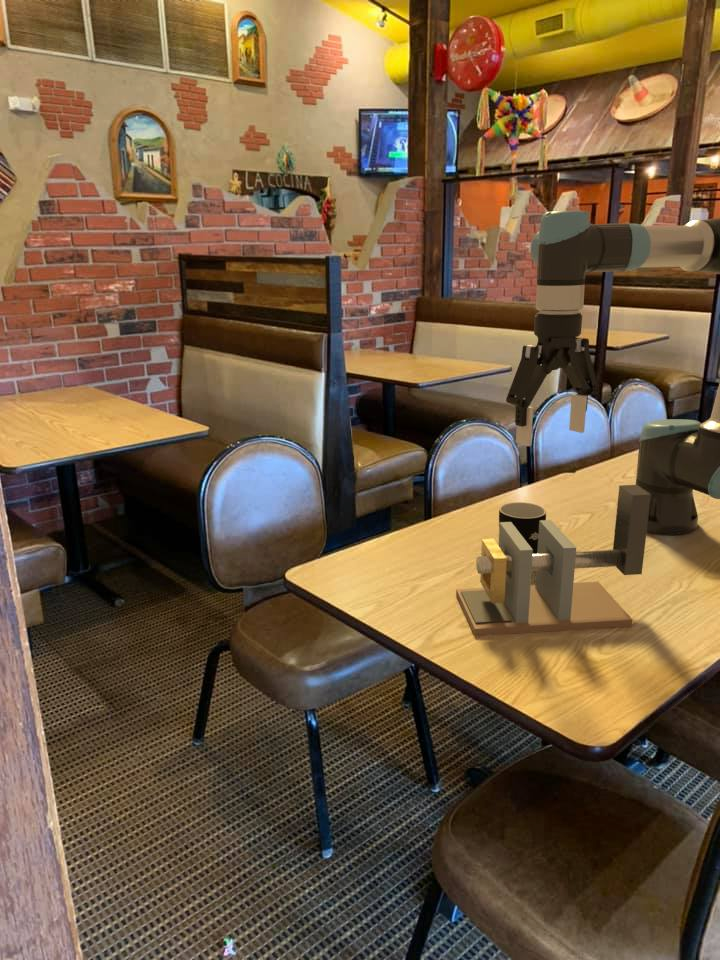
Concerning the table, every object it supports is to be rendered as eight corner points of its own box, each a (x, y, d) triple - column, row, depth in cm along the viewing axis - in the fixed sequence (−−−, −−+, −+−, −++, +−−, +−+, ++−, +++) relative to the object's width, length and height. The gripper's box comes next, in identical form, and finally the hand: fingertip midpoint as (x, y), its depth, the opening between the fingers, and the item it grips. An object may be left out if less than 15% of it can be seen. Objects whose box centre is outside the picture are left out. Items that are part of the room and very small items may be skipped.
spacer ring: (491, 581, 125) (493, 538, 122) (504, 603, 117) (506, 557, 115) (480, 581, 125) (482, 539, 122) (492, 603, 117) (494, 558, 115)
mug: (529, 571, 137) (532, 521, 134) (488, 559, 143) (490, 511, 140) (557, 551, 146) (561, 504, 143) (518, 540, 152) (520, 495, 149)
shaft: (628, 561, 124) (636, 484, 120) (641, 574, 119) (650, 494, 115) (474, 569, 122) (477, 491, 118) (481, 582, 117) (484, 502, 113)
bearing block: (597, 587, 130) (604, 515, 126) (631, 626, 117) (640, 546, 113) (456, 595, 128) (458, 522, 124) (474, 635, 115) (477, 555, 111)
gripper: (588, 305, 127) (580, 422, 134) (487, 315, 114) (483, 445, 120) (625, 307, 121) (614, 430, 128) (522, 319, 108) (516, 455, 115)
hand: (550, 437), depth 124 cm, fingers open, 13 cm apart
